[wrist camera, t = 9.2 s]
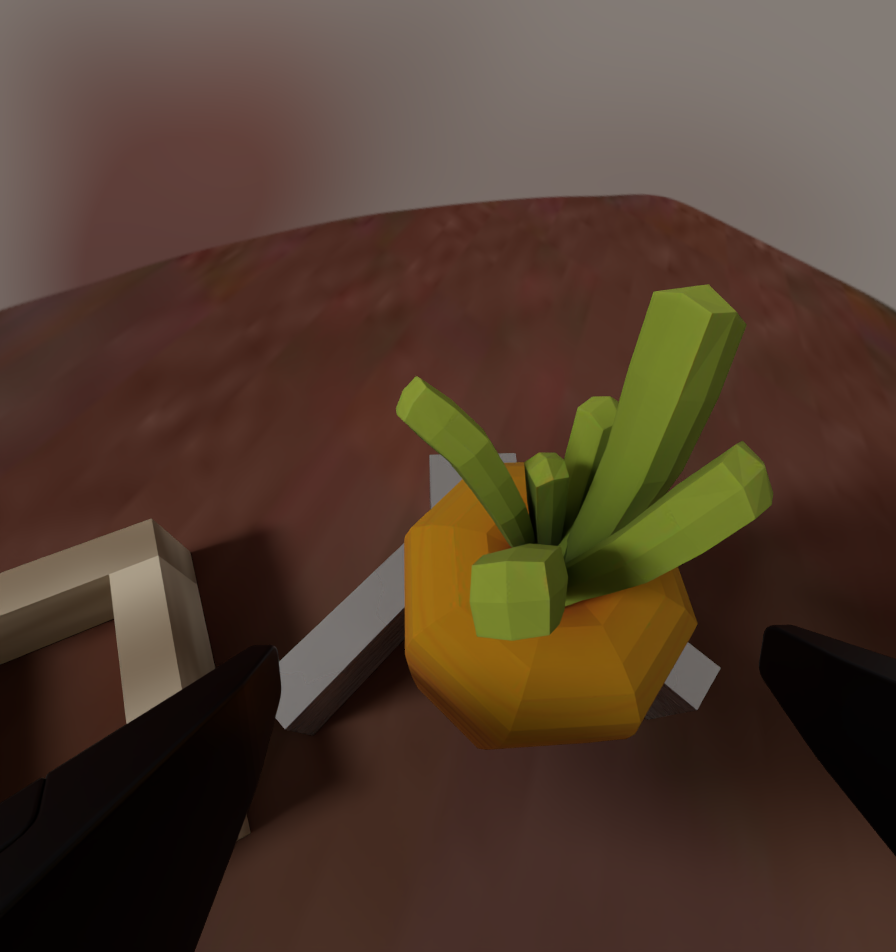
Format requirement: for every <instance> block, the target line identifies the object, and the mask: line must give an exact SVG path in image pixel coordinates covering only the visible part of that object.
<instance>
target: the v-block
mask: <svg viewBox="0 0 896 952" xmlns="http://www.w3.org/2000/svg"><path fill="white" fill-rule="evenodd" d="M499 456H500V458H501V459H502V461H503V463H515V462H517V461H516V454H515V453H505V454H499ZM461 480H462V478H461V477H460V475H459V474H458V473H457V472H456V470H455V469H454V468H453V467H452V465H451V464H450V463H449V462H448V461H447V460H446V459H445V458H444V457H443V456H441V455H430V509H432V508H433V507H434V506H435V505H436V504H437V503H438V502H439V501H440V500H441V499H442V498H443V497H444V496H445V495H446V494H447V493H448V492H449V491H451V490H452V489H453V488H454V487H455V486H456V485H457V484H458V483H459V482H460V481H461ZM404 639H405V591H404V544H403V545H402V546H401V547H400V548H399V549H398V550H397V551H395V552H394V553H393V554H392V555H391V556H390V557H389V558H388V559H387V560H386V561H385V562H384V563H383V564H382V565H381V566H380V567H379V568H378V569H376V570H375V571H374V572H373V573H372V574H371V575H370V576H369V577H368V578H367V579H366V580H365V581H364V582H363V583H362V584H361V585H360V586H359V587H357V588H356V589H355V590H354V591H353V592H352V593H351V594H350V595H349V596H348V597H347V598H346V599H345V600H344V601H343V602H342V603H341V604H340V605H338V606H337V607H336V608H335V609H334V610H333V611H332V612H331V613H330V614H329V615H328V616H327V617H326V618H325V619H324V620H323V621H322V622H320V623H319V624H318V625H317V626H316V627H315V628H314V629H313V630H312V631H311V632H310V633H309V634H308V635H307V636H306V637H305V638H304V639H303V640H301V641H300V642H299V643H298V644H297V645H296V646H295V647H294V648H293V649H292V650H291V651H290V652H289V653H288V654H287V655H286V656H285V657H284V658H282V659H281V660H280V661H279V667H280V677H281V698H280V702H279V706H278V710H277V714H276V717H275V718H276V719H277V720H278V721H279V723H280V724H281V725H282V726H283V728H284V729H285V730H290V731H294V732H299V733H304V734H308V735H314V734H315V733H316V732H317V731H318V730H319V729H320V728H321V727H322V726H323V725H324V724H325V723H326V722H327V721H328V719H329V718H330V717H331V716H332V715H333V714H334V713H335V712H336V711H337V710H338V709H339V708H340V707H341V706H342V705H343V704H344V702H345V701H346V700H347V699H348V698H349V697H350V696H351V695H352V694H353V693H354V692H355V691H356V690H357V689H358V688H359V687H360V685H361V684H362V683H363V682H364V681H365V680H366V679H367V678H368V677H369V676H370V675H371V674H372V673H373V672H374V671H375V669H376V668H377V667H378V666H379V665H380V664H381V663H382V662H383V661H384V660H385V659H386V658H387V657H388V656H389V655H390V654H391V652H392V651H393V650H394V649H395V648H396V647H397V646H398V645H399V644H400V643H401V642H402V641H403V640H404ZM719 670H720V667H719V666H718V665H716V664H715V663H714V662H712V661H711V660H710V659H709V658H707V657H706V656H705V655H703V654H702V653H701V652H700V651H698V650H697V649H696V648H694V647H693V646H692V645H691V644H689V643H687V644H686V646H685V648H684V650H683V651H682V653H681V655H680V657H679V658H678V660H677V662H676V664H675V665H674V667H673V669H672V671H671V672H670V674H669V676H668V677H667V679H666V681H665V683H664V684H663V686H662V688H661V690H660V691H659V693H658V695H657V697H656V698H655V700H654V702H653V704H652V705H651V707H650V709H649V711H648V712H647V714H646V716H645V718H646V719H647V720H648V719H653V718H659V717H664V716H669V715H674V714H679V713H685V712H690V711H695V710H697V709H698V708H699V706H700V704H701V702H702V700H703V699H704V697H705V695H706V693H707V692H708V690H709V688H710V686H711V684H712V683H713V681H714V679H715V677H716V675H717V674H718V672H719Z"/></svg>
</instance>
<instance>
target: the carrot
mask: <svg viewBox="0 0 896 952" xmlns="http://www.w3.org/2000/svg"><path fill="white" fill-rule="evenodd" d="M745 328H746V323H745V322H744V321H743V320H742V318H741V317H740V316H739V315H738V313H737V312H736V311H735V310H734V309H733V308H732V307H731V306H730V305H729V304H728V303H727V302H726V301H725V300H724V299H723V298H722V297H721V296H720V295H719V294H717V293H716V292H715V291H714V290H713V289H712V288H711V287H710V286H709V285H700V286H693V287H686V288H678V289H671V290H663V291H656V292H653V295H652V298H651V301H650V304H649V307H648V310H647V314H646V317H645V320H644V323H643V326H642V329H641V332H640V335H639V338H638V341H637V344H636V347H635V350H634V353H633V356H632V359H631V362H630V365H629V369H628V372H627V376H626V379H625V383H624V386H623V390H622V393H621V397H620V401H619V402H618V401H616V400H615V399H613V398H612V397H610V396H606V397H591V398H590V399H589V400H587V401H586V402H585V403H583V404H582V405H581V406H579V407H578V409H577V413H576V417H575V420H574V424H573V428H572V432H571V435H570V439H569V443H568V447H567V450H566V454H565V458H564V460H563V459H562V458H561V457H560V456H559V455H557V454H556V453H538V454H536V455H535V456H533V457H532V458H530V459H529V460H527V461H526V462H515V463H503V461H502V459H501V458H500V456H499V454H498V453H497V451H496V449H495V448H494V446H493V445H492V443H491V441H490V440H489V438H488V436H487V435H486V433H485V431H484V430H483V429H482V428H481V427H480V426H479V425H478V424H477V423H476V422H475V421H474V420H473V419H472V418H471V417H469V416H468V415H467V414H466V413H465V412H464V411H463V410H462V409H461V408H460V407H459V406H458V405H457V404H456V403H455V402H453V401H452V400H451V399H450V398H448V397H447V396H445V395H444V394H443V393H441V392H440V391H438V390H437V389H435V388H434V387H432V386H431V385H429V384H428V383H426V382H425V381H424V380H422V379H421V378H419V377H417V376H416V377H415V378H414V379H413V380H412V381H411V382H410V383H409V384H408V385H407V387H406V388H405V389H404V390H403V392H402V394H401V397H400V399H399V402H398V404H397V407H396V413H397V415H398V416H399V417H400V418H401V419H402V420H403V421H404V422H405V423H406V424H407V425H408V426H409V427H410V428H411V429H412V430H413V431H414V432H415V433H416V434H417V435H418V436H419V437H420V438H421V439H423V440H424V441H425V442H426V443H427V444H428V445H430V446H431V447H432V448H433V449H434V450H435V451H437V452H438V453H439V454H440V455H441V456H443V457H444V458H445V459H446V460H447V461H448V462H449V463H450V464H451V465H452V467H453V468H454V469H455V470H456V472H457V473H458V474H459V475H460V477H461V478H462V480H461V481H460V482H459V483H458V484H457V485H456V486H455V487H454V488H453V489H452V490H451V491H449V492H448V493H447V494H446V495H445V496H444V497H443V498H442V499H441V500H440V501H439V502H438V503H437V504H436V505H435V506H434V507H433V508H432V509H430V510H429V511H428V512H427V513H426V514H425V515H424V516H423V517H422V518H421V519H420V520H419V521H418V522H417V523H416V524H415V525H414V526H413V527H412V528H411V529H410V530H409V532H408V533H407V534H406V536H405V542H404V591H405V656H406V660H407V663H408V666H409V670H410V673H411V676H412V678H413V680H414V682H415V684H416V686H417V688H418V689H419V690H420V691H421V692H422V693H423V694H424V695H425V696H426V697H427V698H428V699H429V700H430V701H431V702H432V703H433V704H434V705H435V706H436V707H437V708H438V709H439V710H440V711H441V712H442V713H443V714H444V715H445V716H446V717H447V718H448V719H449V720H450V721H451V722H452V723H453V724H454V725H455V726H456V727H457V728H458V729H459V730H460V731H461V732H462V733H463V734H464V735H465V736H466V737H467V738H468V739H469V740H470V741H471V742H472V743H473V744H474V745H475V746H476V747H477V748H479V749H485V750H489V749H503V748H518V747H533V746H548V745H562V744H577V743H590V742H600V741H609V740H619V739H627V738H629V737H631V736H632V735H634V734H635V733H636V731H637V730H638V728H639V726H640V724H641V723H642V721H643V719H644V717H645V716H646V714H647V712H648V711H649V709H650V707H651V705H652V704H653V702H654V700H655V698H656V697H657V695H658V693H659V691H660V690H661V688H662V686H663V684H664V683H665V681H666V679H667V677H668V676H669V674H670V672H671V671H672V669H673V667H674V665H675V664H676V662H677V660H678V658H679V657H680V655H681V653H682V651H683V650H684V648H685V646H686V644H687V643H688V641H689V639H690V638H691V636H692V634H693V632H694V630H695V628H696V626H697V624H698V623H697V620H696V617H695V615H694V612H693V609H692V606H691V603H690V600H689V597H688V594H687V591H686V589H685V586H684V583H683V580H682V577H681V574H680V571H679V568H678V566H680V565H681V564H683V563H685V562H687V561H689V560H691V559H693V558H695V557H697V556H699V555H700V554H702V553H704V552H705V551H707V550H709V549H710V548H712V547H713V546H715V545H717V544H718V543H720V542H721V541H722V540H724V539H725V538H727V537H728V536H730V535H732V534H733V533H735V532H736V531H738V530H739V529H741V528H742V527H744V526H745V525H747V524H748V523H750V522H752V521H753V520H755V519H756V518H757V517H758V516H759V515H761V514H762V513H763V512H764V511H765V510H766V509H767V508H769V507H770V506H771V505H772V498H773V491H772V488H771V484H770V481H769V478H768V474H767V471H766V468H765V465H764V462H763V461H762V460H761V459H760V458H759V457H758V456H757V455H756V454H755V453H754V452H753V451H752V450H751V449H750V448H749V447H748V446H747V445H746V444H745V443H744V442H743V441H741V442H740V443H738V444H736V445H735V446H733V447H732V448H730V449H729V450H727V451H726V452H725V453H723V454H722V455H720V456H719V457H717V458H716V459H714V460H713V461H712V462H710V463H709V464H707V465H706V466H704V467H703V468H701V469H700V470H698V471H697V472H696V473H694V474H693V475H691V476H690V477H688V478H687V479H685V480H684V481H682V482H681V483H680V484H678V485H677V486H675V487H674V488H673V489H672V490H670V491H669V492H668V493H667V491H668V490H669V489H670V487H671V486H672V485H673V483H674V482H675V480H676V479H677V478H678V476H679V475H680V474H681V472H682V471H683V469H684V467H685V465H686V463H687V461H688V459H689V457H690V455H691V453H692V451H693V449H694V446H695V444H696V442H697V440H698V438H699V436H700V434H701V432H702V430H703V428H704V426H705V424H706V422H707V420H708V418H709V416H710V414H711V412H712V410H713V408H714V406H715V404H716V402H717V400H718V398H719V395H720V392H721V390H722V387H723V385H724V382H725V379H726V377H727V374H728V372H729V369H730V367H731V364H732V361H733V359H734V356H735V354H736V351H737V348H738V346H739V343H740V341H741V338H742V335H743V333H744V330H745ZM666 493H667V494H666Z"/></svg>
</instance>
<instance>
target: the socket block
mask: <svg viewBox="0 0 896 952" xmlns="http://www.w3.org/2000/svg"><path fill="white" fill-rule="evenodd" d="M112 619H114V620H115V629H116V637H117V646H118V655H119V663H120V672H121V680H122V689H123V697H124V706H125V714H126V723H129V722H131V721H132V720H134V719H135V718H137V717H139V716H140V715H142V714H143V713H145V712H147V711H148V710H150V709H151V708H153V707H155V706H156V705H158V704H159V703H161V702H163V701H164V700H166V699H167V698H169V697H171V696H172V695H174V694H175V693H177V692H178V691H180V690H182V689H183V688H185V687H186V686H188V685H190V684H191V683H193V682H194V681H196V680H198V679H199V678H201V677H202V676H204V675H206V674H207V673H209V672H210V671H212V670H214V669H215V665H214V660H213V656H212V651H211V646H210V642H209V637H208V632H207V628H206V623H205V618H204V614H203V609H202V604H201V600H200V595H199V591H198V586H197V581H196V577H195V572H194V567H193V563H192V558H191V553H190V551H189V550H187V549H186V548H185V547H184V546H183V545H182V544H180V543H179V542H178V541H177V540H176V539H175V538H174V537H172V536H171V535H170V534H169V533H168V532H167V531H165V530H164V529H163V528H162V527H161V526H160V525H159V524H157V523H156V522H155V521H154V520H153V519H149V520H146V521H144V522H141V523H138V524H135V525H132V526H130V527H127V528H124V529H121V530H119V531H116V532H113V533H110V534H108V535H105V536H102V537H99V538H96V539H94V540H91V541H88V542H85V543H83V544H80V545H77V546H74V547H71V548H69V549H66V550H63V551H60V552H58V553H55V554H52V555H49V556H47V557H44V558H41V559H38V560H35V561H33V562H30V563H27V564H24V565H22V566H19V567H16V568H13V569H10V570H8V571H5V572H2V573H0V664H3V663H5V662H8V661H10V660H13V659H15V658H18V657H20V656H23V655H25V654H28V653H30V652H33V651H35V650H37V649H40V648H42V647H45V646H47V645H50V644H52V643H55V642H57V641H60V640H62V639H65V638H67V637H70V636H72V635H75V634H77V633H80V632H82V631H84V630H87V629H89V628H92V627H94V626H97V625H99V624H102V623H104V622H107V621H109V620H112ZM250 833H251V832H250V828H249V823H248V818H247V815H246V817H245V820H244V823H243V825H242V828H241V831H240V833H239V836H238V839H237V841H238V840H239V839H241V838H243V837H245V836H247V835H248V834H250Z"/></svg>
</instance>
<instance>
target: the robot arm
mask: <svg viewBox="0 0 896 952" xmlns="http://www.w3.org/2000/svg"><path fill="white" fill-rule="evenodd" d="M759 670H760V674H761V676H762V678H763V680H764V682H765V683H766V685H767V686H768V688H769V689H770V690H771V692H772V693H773V695H774V696H775V698H776V699H777V701H778V702H779V704H780V705H781V707H782V708H783V710H784V711H785V712H786V714H787V715H788V717H789V718H790V720H791V721H792V723H793V724H794V726H795V727H796V729H797V730H798V731H799V733H800V734H801V736H802V737H803V739H804V740H805V742H806V743H807V745H808V746H809V747H810V749H811V750H812V752H813V753H814V754H815V756H816V757H817V759H818V760H819V761H820V763H821V764H822V765H823V766H824V768H825V769H826V770H827V772H828V773H829V774H830V775H831V777H832V778H833V779H834V780H835V782H836V783H837V784H838V785H839V787H840V788H841V789H842V790H843V791H844V793H845V794H846V795H847V796H848V798H849V799H850V800H851V801H852V803H853V804H854V805H855V806H856V808H857V809H858V810H859V811H860V813H861V814H862V815H863V816H864V818H865V819H866V820H867V821H868V823H869V824H870V825H871V826H872V828H873V829H874V830H875V831H876V833H877V834H878V835H879V836H880V837H881V839H882V840H883V841H884V842H885V844H886V845H887V846H888V847H889V849H890V850H891V851H892V852H893V854H894V855H895V856H896V659H894V658H891V657H888V656H885V655H882V654H879V653H876V652H873V651H870V650H866V649H863V648H860V647H857V646H854V645H851V644H848V643H845V642H842V641H839V640H836V639H833V638H830V637H827V636H824V635H821V634H818V633H815V632H812V631H809V630H806V629H803V628H800V627H797V626H793V625H772V626H769V627H767V628H766V630H765V631H764V635H763V641H762V648H761V654H760V660H759ZM280 698H281V677H280V667H279V658H278V651H277V648H276V647H275V646H274V645H254V646H250V647H249V648H247V649H246V650H244V651H242V652H241V653H239V654H238V655H236V656H234V657H233V658H231V659H230V660H228V661H226V662H225V663H223V664H222V665H220V666H218V667H217V668H215V669H214V670H212V671H210V672H209V673H207V674H206V675H204V676H202V677H201V678H199V679H198V680H196V681H194V682H193V683H191V684H190V685H188V686H186V687H185V688H183V689H182V690H180V691H178V692H177V693H175V694H174V695H172V696H171V697H169V698H167V699H166V700H164V701H163V702H161V703H159V704H158V705H156V706H155V707H153V708H151V709H150V710H148V711H147V712H145V713H143V714H142V715H140V716H139V717H137V718H135V719H134V720H132V721H131V722H129V723H127V724H126V725H124V726H123V727H121V728H119V729H118V730H116V731H115V732H113V733H111V734H110V735H108V736H107V737H105V738H103V739H102V740H100V741H99V742H97V743H95V744H94V745H92V746H91V747H89V748H88V749H86V750H84V751H83V752H81V753H80V754H78V755H76V756H75V757H73V758H72V759H70V760H68V761H67V762H65V763H64V764H62V765H60V766H59V767H57V768H56V769H54V770H52V771H51V772H49V773H48V774H47V776H46V779H45V778H39V779H38V780H36V781H35V782H33V783H31V784H30V785H28V786H27V787H25V788H24V789H22V790H20V791H19V792H17V793H16V794H14V795H12V796H11V797H9V798H8V799H6V800H4V801H3V802H1V803H0V952H194V951H195V949H196V946H197V944H198V941H199V938H200V936H201V933H202V930H203V928H204V925H205V923H206V920H207V917H208V915H209V912H210V909H211V907H212V904H213V902H214V899H215V896H216V894H217V891H218V888H219V886H220V883H221V881H222V878H223V875H224V873H225V870H226V867H227V865H228V862H229V860H230V857H231V854H232V852H233V849H234V846H235V844H236V841H237V839H238V836H239V833H240V831H241V828H242V825H243V823H244V820H245V817H246V815H247V812H248V810H249V807H250V804H251V802H252V799H253V796H254V793H255V790H256V787H257V784H258V781H259V777H260V774H261V770H262V766H263V763H264V759H265V755H266V751H267V747H268V744H269V740H270V736H271V732H272V729H273V725H274V721H275V717H276V714H277V710H278V706H279V702H280Z"/></svg>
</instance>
